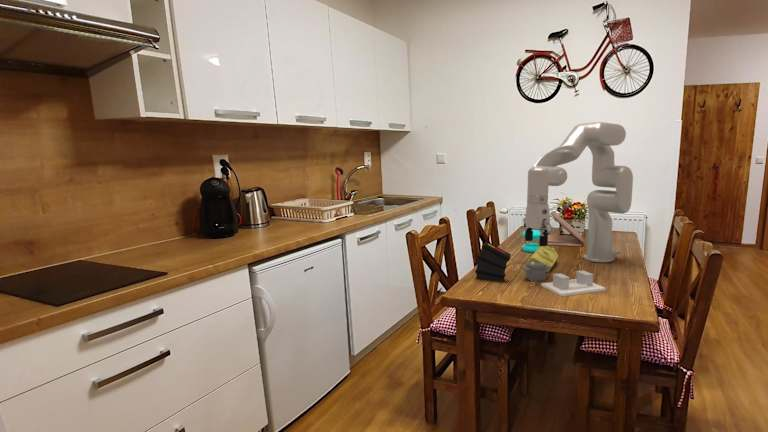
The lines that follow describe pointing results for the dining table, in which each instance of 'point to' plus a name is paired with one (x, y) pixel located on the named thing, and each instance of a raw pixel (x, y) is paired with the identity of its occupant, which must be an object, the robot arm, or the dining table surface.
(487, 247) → the black ridged block
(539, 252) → the plastic component
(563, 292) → the cradle
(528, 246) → the cyan spool
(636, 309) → the dining table surface
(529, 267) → the servo
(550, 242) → the case
